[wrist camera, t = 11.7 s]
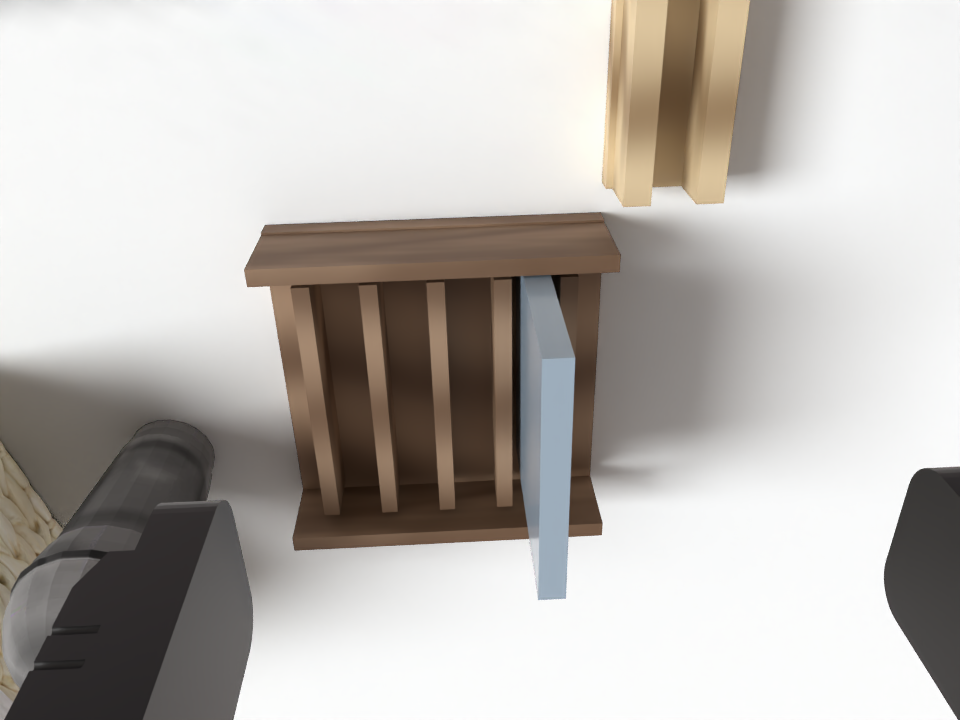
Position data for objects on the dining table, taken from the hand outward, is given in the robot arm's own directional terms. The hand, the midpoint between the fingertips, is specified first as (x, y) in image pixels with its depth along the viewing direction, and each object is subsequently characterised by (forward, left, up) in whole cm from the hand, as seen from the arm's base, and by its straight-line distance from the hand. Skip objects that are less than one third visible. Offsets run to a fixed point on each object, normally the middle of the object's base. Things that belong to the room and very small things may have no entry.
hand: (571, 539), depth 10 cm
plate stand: (+1, +8, -30) cm, 31 cm away
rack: (+15, -2, -30) cm, 34 cm away
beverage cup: (+20, -17, -30) cm, 40 cm away
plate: (+14, +2, -29) cm, 32 cm away
